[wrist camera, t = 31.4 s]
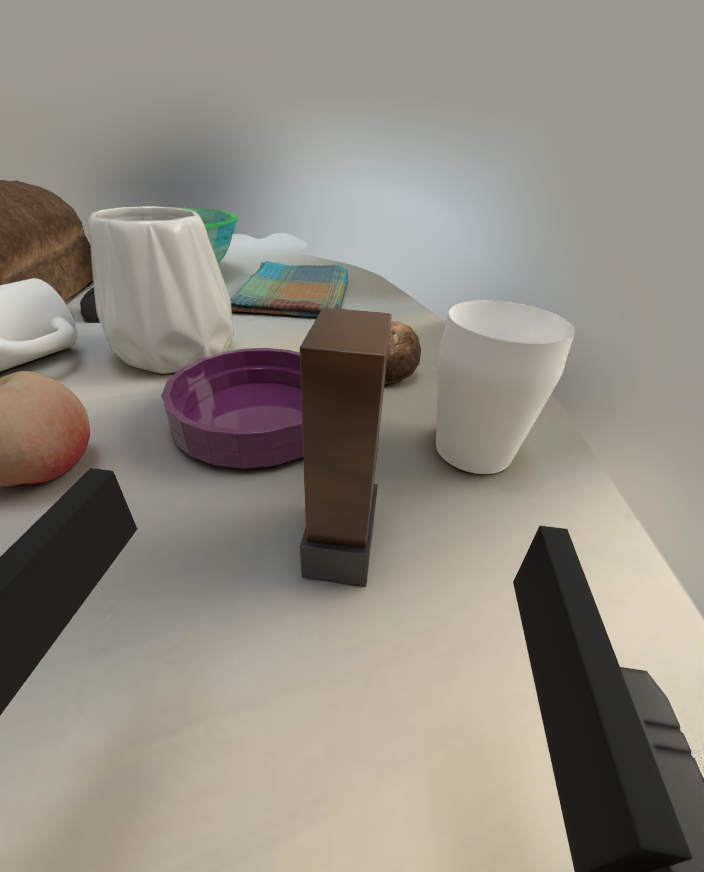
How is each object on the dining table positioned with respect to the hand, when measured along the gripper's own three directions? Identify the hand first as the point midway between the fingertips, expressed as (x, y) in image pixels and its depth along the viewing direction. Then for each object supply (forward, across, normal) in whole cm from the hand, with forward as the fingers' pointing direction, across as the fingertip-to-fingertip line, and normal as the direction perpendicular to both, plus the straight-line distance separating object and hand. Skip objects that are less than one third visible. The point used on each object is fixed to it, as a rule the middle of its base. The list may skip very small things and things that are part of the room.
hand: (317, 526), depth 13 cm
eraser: (+9, 0, -12) cm, 15 cm away
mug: (+28, -38, -12) cm, 49 cm away
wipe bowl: (+22, -10, -12) cm, 27 cm away
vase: (+34, -24, -12) cm, 43 cm away
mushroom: (+34, 0, -12) cm, 36 cm away
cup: (+21, +10, -12) cm, 26 cm away
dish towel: (+61, -17, -12) cm, 64 cm away
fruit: (+12, -24, -12) cm, 30 cm away
